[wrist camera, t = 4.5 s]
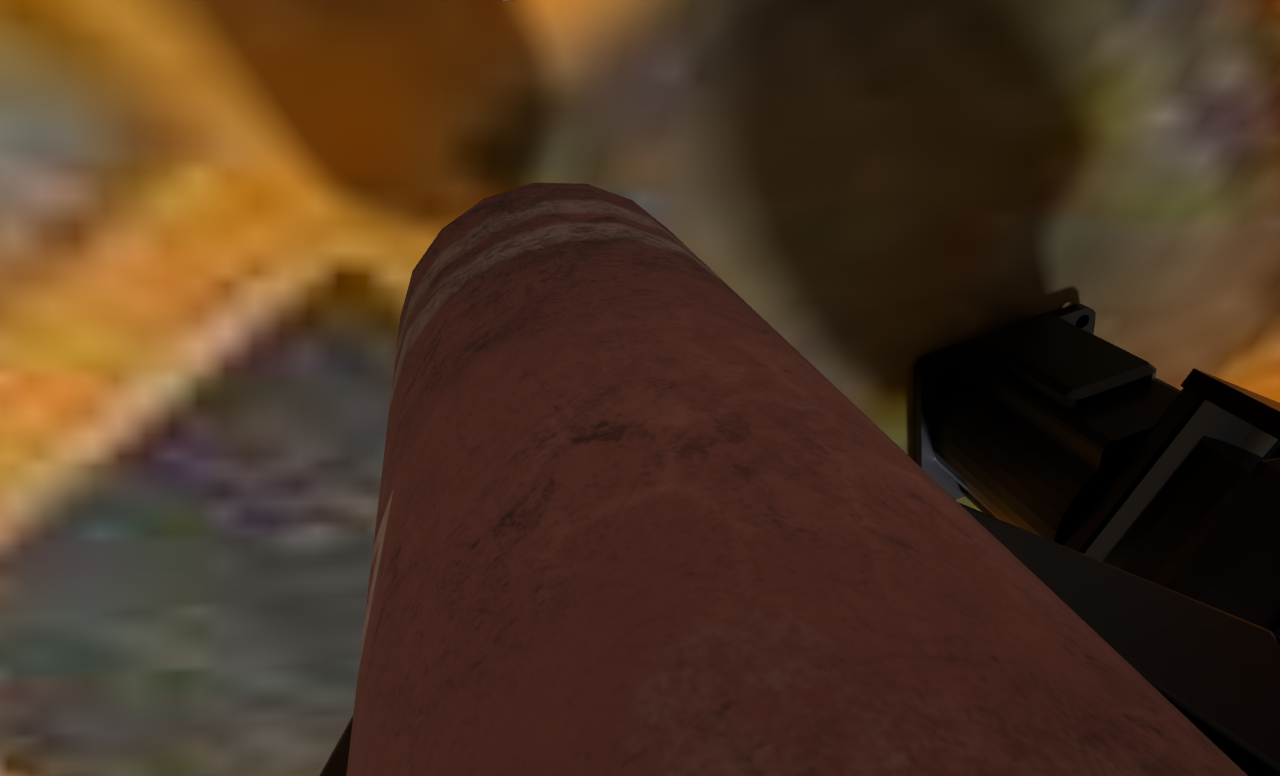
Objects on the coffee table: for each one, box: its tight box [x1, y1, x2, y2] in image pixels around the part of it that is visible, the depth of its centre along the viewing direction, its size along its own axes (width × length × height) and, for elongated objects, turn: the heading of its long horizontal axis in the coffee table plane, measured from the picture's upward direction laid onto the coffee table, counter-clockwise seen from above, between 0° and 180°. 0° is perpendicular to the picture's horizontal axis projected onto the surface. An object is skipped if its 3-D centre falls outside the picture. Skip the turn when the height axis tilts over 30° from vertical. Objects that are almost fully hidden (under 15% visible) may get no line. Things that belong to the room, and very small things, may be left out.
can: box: [346, 183, 1248, 776], centre depth 9 cm, size 6×6×14 cm
